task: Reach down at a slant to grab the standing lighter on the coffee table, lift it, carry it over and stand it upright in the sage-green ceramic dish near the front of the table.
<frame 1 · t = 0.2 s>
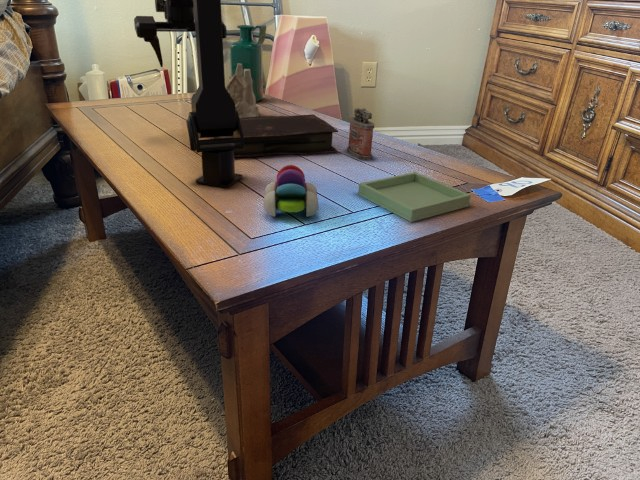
hand: (182, 66, 115), 15 cm above the table, tool pointing down, fingers open, 9 cm apart
dish: (412, 200, 89), on the table
diary: (272, 146, 116), on the table
rainbow wheeled toy: (290, 211, 83), on the table
ceramic cottage: (228, 118, 139), on the table
pitcher: (249, 100, 161), on the table
lighter: (359, 155, 112), on the table
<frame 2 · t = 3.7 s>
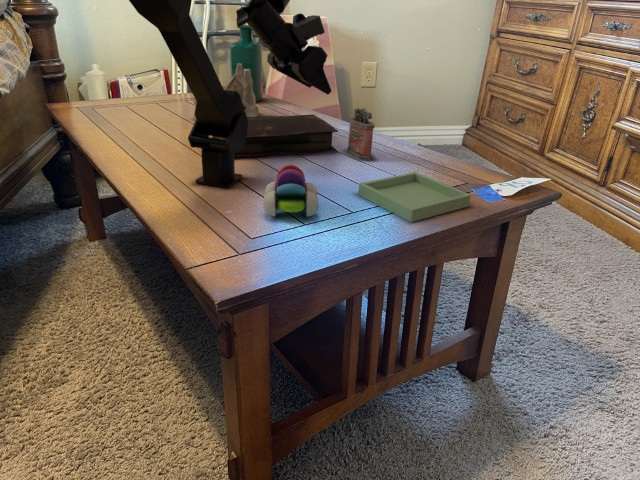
hand: (320, 89, 106), 14 cm above the table, tool tilted 45°, fingers open, 9 cm apart
nothing on the table moved.
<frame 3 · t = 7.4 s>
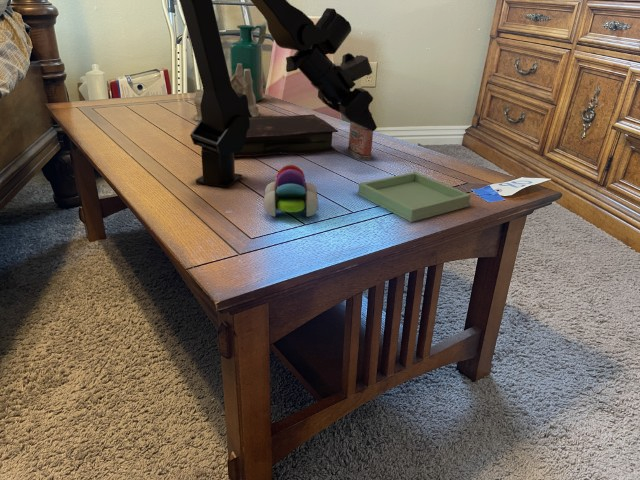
hand: (367, 124, 110), 7 cm above the table, tool tilted 45°, fingers closed on lighter, 8 cm apart
lighter: (359, 155, 112), on the table, touching gripper
everything else where it was.
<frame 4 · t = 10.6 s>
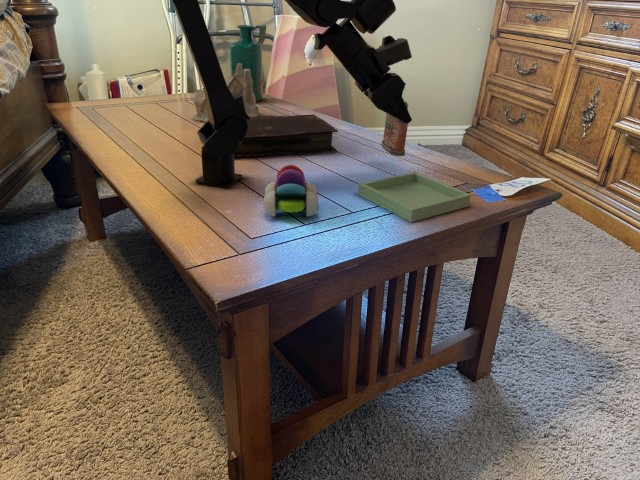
hand: (404, 116, 98), 11 cm above the table, tool tilted 45°, fingers closed on lighter, 8 cm apart
lighter: (392, 151, 101), point 4 cm above the table, touching gripper
everything else where it was.
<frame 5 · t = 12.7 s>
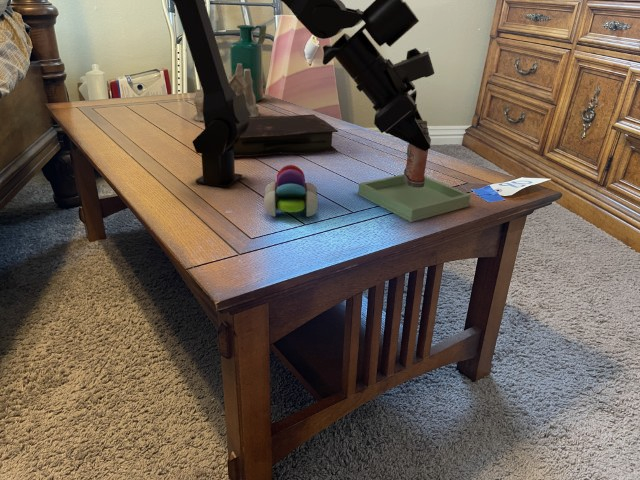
hand: (427, 142, 84), 10 cm above the table, tool tilted 45°, fingers closed on lighter, 8 cm apart
lighter: (413, 180, 87), point 4 cm above the table, touching gripper
everything else where it was.
when the fingers open (7 cm above the table, at t = 14.3 s): lighter stays where it is, resting on dish.
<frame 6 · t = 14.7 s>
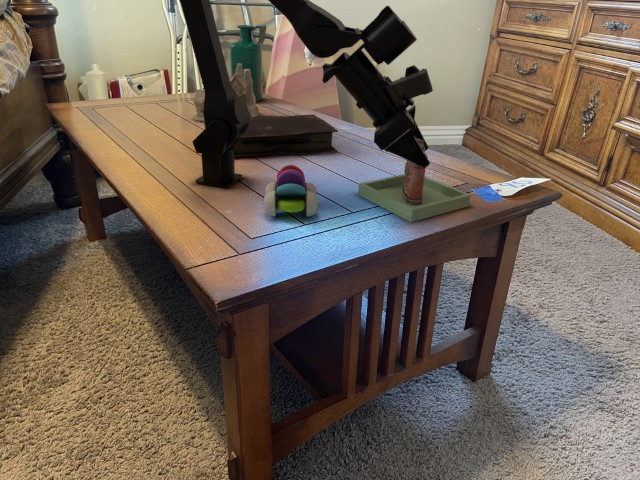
hand: (426, 157, 85), 8 cm above the table, tool tilted 45°, fingers open, 9 cm apart
lighter: (411, 198, 89), resting on dish
everything else where it was.
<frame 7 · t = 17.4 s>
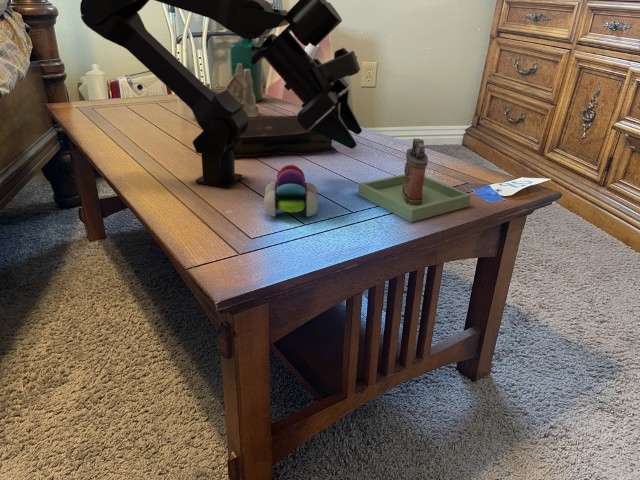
hand: (357, 139, 86), 10 cm above the table, tool tilted 45°, fingers open, 9 cm apart
nothing on the table moved.
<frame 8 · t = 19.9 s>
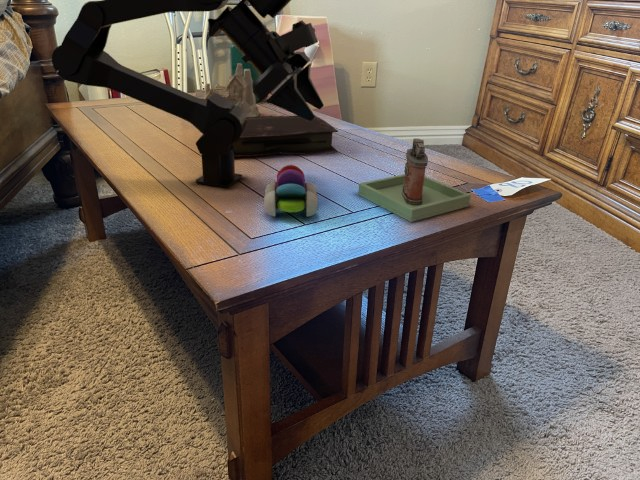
hand: (317, 113, 86), 14 cm above the table, tool tilted 45°, fingers open, 9 cm apart
nothing on the table moved.
at the end: lighter inside the target area in the dish (0.2 cm from its centre), point 0.4 cm above the dish's base; lighter tilted 0°; the gripper is holding nothing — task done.
